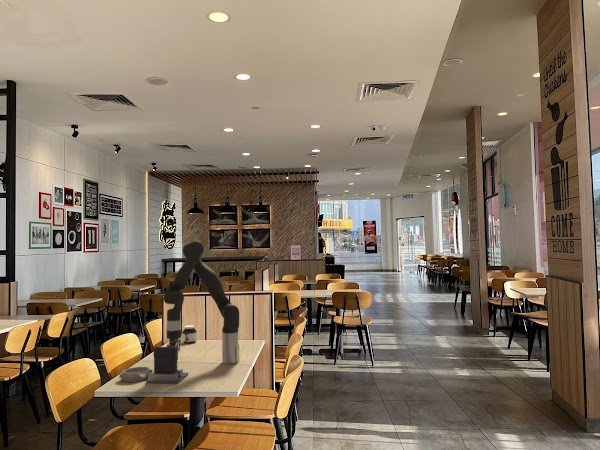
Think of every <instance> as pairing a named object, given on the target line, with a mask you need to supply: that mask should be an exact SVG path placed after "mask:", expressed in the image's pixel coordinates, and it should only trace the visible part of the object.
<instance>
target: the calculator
mask: <svg viewBox="0 0 600 450" xmlns="http://www.w3.org/2000/svg"><path fill="white" fill-rule="evenodd" d="M177 369H178V360H177V347H167V346H156V347H154V348H153V373H177Z"/></svg>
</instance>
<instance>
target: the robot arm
mask: <svg viewBox="0 0 600 450" xmlns="http://www.w3.org/2000/svg"><path fill="white" fill-rule="evenodd" d="M204 251H205V246H204V244H203V243H202V242H201V241H200V240H194V241H191V242H189V243H185V245H183V247H182V253H183V256H184V258H185V259H186V260H185V261H184V262H183V264H182V265H181V267H180V268H179V269H178V271H177V272H176V274H175V277H174V280H172V283H171V284H170V286H169V287H168V288H166V291H164V294H163V302H164V303H165V304H166V305H173V308H170V309H167V311H166V339H168V340H169V342H168V344H166V347H177V361H178V360H179V352H180V351H181V344H180V342H181V340H178V338H181V334H182V320H181V319H182V317H181V316H182V314H181V313H182V309H183V304H184V300H185V295H184V293H183V292H182V291H183V290H185V288H186V286H187V284H188V281H189V278H190V277H191V275H192V272H193V270H194V272H195V273H196V274H197V277H198V278H199V279H200V281H201V283H202V284H203V286H204V288H205V290H206V291H207V293H208V294H209V295H210V296H211V298H212V300H213V301H214V303H215V304H216V306H217V308H218V311H219V313H220V315H221V317H222V318H223V326H222V329H221V338H222V339H221V341H222V345H221V347H222V349H221V351H222V353H221V354H222V355H221V356H222V357H221V358H222V362H221V363H223V364H227V365H231V364H233V365H234V364H238V363H239V362H240V344H239V328H240V310H239V308H238V306H237V305H235V304H233V303H232V302H231V301H230V299H229V298H228V296H227V294H226V293H225V290H224V286H223V283H222V282H221V280H220V278H219V276H218V274H217V273H216V272H215V271H214V270H213V269H212V268H210V267H209V266H207V265H206V264H205V263H204V261H202V259H201V257H202V256H203V254H204Z"/></svg>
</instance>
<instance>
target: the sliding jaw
mask: <svg viewBox="0 0 600 450" xmlns="http://www.w3.org/2000/svg"><path fill="white" fill-rule="evenodd" d="M177 373H178V376H182V375H183V373H184V368H177Z"/></svg>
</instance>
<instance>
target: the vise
mask: <svg viewBox="0 0 600 450" xmlns="http://www.w3.org/2000/svg"><path fill="white" fill-rule="evenodd" d="M188 376H189V372H183V375H182V376H178V373H154V372H152V373H149V374H148V379H146V380H145V384H165V385H167V384H172V385H174V384H175V385H176V384H177V385H178V384H180V383H181V382H182V381H183V380H184V379H185V378H187V377H188Z"/></svg>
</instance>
